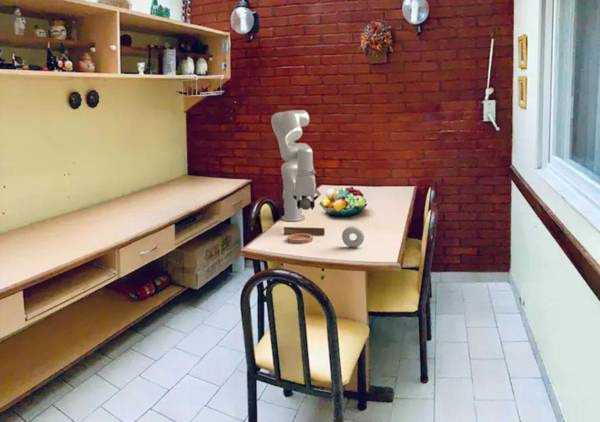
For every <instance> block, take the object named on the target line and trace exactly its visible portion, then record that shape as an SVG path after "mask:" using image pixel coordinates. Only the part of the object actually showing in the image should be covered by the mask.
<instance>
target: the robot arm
mask: <svg viewBox="0 0 600 422" xmlns="http://www.w3.org/2000/svg"><path fill="white" fill-rule="evenodd" d="M270 120H271V127H272V131H273V133H274V135H275V136H276V138H277V142H278V147H279V151H280V156H281V159H282V160H283V161H285V162H284V163H283V164H281V166H280V171H281V177H282V183H283V201H284V202H283V205H284V206H283V207H284V209H283V210H284V211H283V212H284V215H283V216H281V220H282V219H283V220H282V221H285V222H301V221H303V220H305V219H306V216H305V215H303V209H302V208H301V207H300V201H301V200H302V199H303V198H302V197H309V198H310V200H311V208H310V209H311V210H314V208H315V204H316V203H315V201H316V200H317V199H318V198H319V197H321V195H322V193H321V192H320V191H319V190H318V189H317V183H316V182H317V181H316V176H315V175H316V173H317V172H316V170H315V169H314V168H315V167H314V161H313V160H314V158H313V157H314V156H313V153H314V152H313V149H312V147H310V146H309V145H308V143H306V142H305V143H304V142H299V143H298V142H297V143H296V141H298V140H299V139H300V138H301V137H302V135H303V130H302V127H303V128H304V127H307V126H308V125H309V123H310V115H309V113H308V111H306V110H304V109H301V110H299V109H297V110H293V109H292V110H287V111H279V112H276V113H275V112H274V114H273V115H271V119H270Z"/></svg>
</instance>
